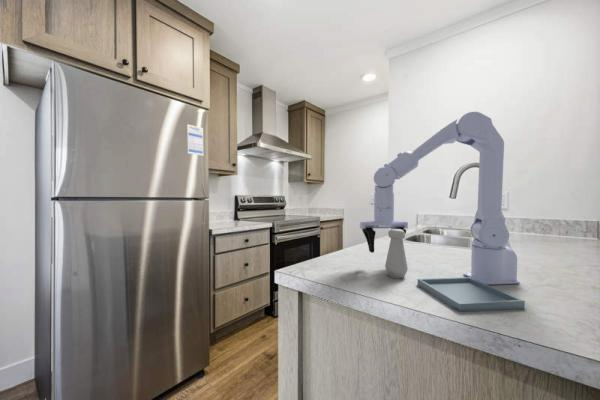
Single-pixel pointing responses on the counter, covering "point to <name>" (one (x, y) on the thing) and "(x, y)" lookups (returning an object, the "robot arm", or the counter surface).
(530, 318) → the counter surface
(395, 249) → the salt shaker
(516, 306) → the tray
